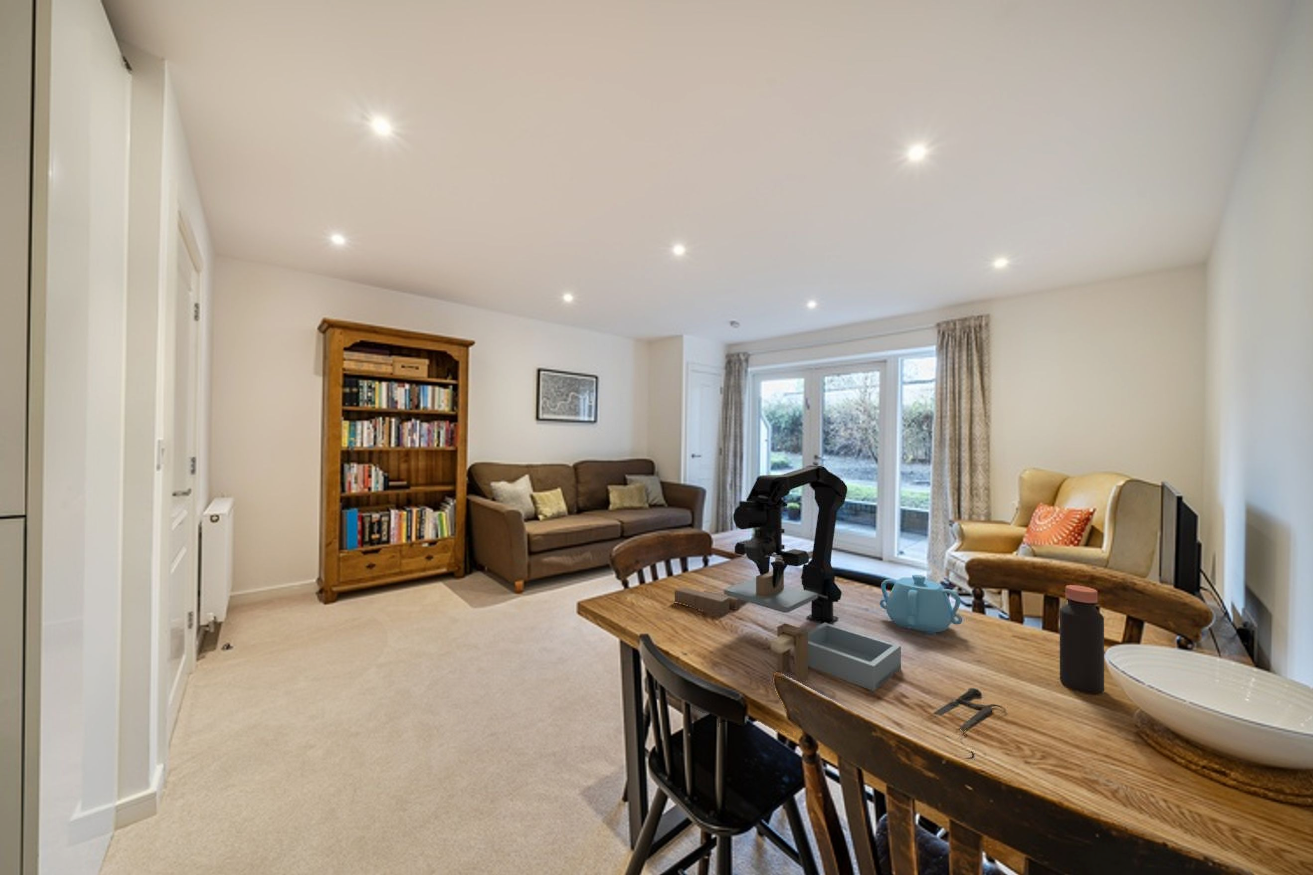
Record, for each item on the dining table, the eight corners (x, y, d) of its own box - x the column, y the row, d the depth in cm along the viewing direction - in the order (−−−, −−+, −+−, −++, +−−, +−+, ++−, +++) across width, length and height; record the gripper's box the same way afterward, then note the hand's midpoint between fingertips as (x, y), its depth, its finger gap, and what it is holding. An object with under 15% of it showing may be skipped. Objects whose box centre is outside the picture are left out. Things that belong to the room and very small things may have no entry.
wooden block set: (723, 598, 135) (673, 586, 147) (724, 618, 135) (673, 604, 147) (752, 584, 149) (703, 573, 160) (752, 602, 149) (704, 590, 160)
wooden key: (796, 636, 106) (796, 627, 106) (806, 639, 104) (806, 630, 104) (770, 649, 99) (770, 640, 99) (780, 653, 98) (780, 643, 98)
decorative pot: (933, 615, 137) (933, 567, 137) (968, 638, 121) (968, 584, 121) (876, 614, 138) (875, 567, 138) (902, 637, 122) (902, 583, 122)
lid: (756, 585, 133) (756, 561, 133) (817, 602, 120) (817, 575, 120) (724, 597, 123) (723, 571, 123) (787, 617, 110) (787, 588, 110)
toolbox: (824, 642, 118) (824, 603, 118) (900, 668, 105) (900, 624, 105) (776, 670, 104) (776, 626, 104) (858, 704, 91) (858, 653, 91)
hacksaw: (971, 692, 96) (971, 684, 96) (1033, 717, 87) (1033, 708, 87) (903, 731, 83) (903, 722, 83) (967, 765, 75) (967, 755, 75)
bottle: (1069, 675, 102) (1069, 581, 102) (1110, 690, 96) (1110, 590, 96) (1053, 682, 99) (1052, 586, 99) (1094, 698, 93) (1094, 595, 93)
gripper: (721, 524, 123) (721, 585, 123) (785, 534, 109) (785, 602, 109) (746, 519, 131) (747, 576, 131) (810, 528, 117) (810, 592, 117)
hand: (770, 586), depth 122 cm, fingers closed on lid, 2 cm apart
